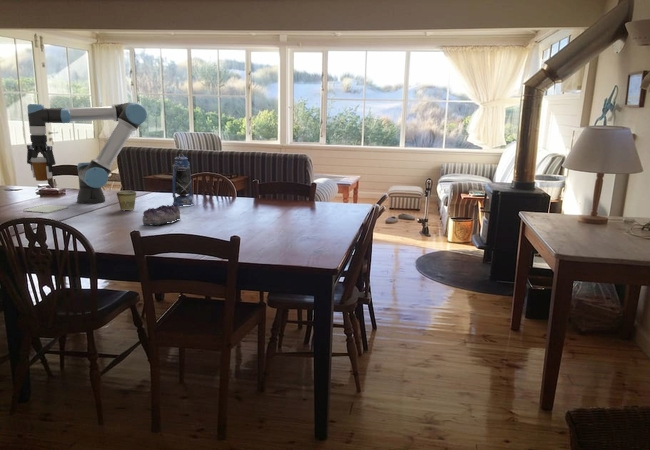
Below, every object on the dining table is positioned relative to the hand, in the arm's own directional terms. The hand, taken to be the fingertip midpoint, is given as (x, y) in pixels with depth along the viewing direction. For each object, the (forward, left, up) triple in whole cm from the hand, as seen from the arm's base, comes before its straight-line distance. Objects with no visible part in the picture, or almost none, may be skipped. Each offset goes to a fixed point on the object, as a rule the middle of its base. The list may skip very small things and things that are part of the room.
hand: (42, 177), depth 264 cm
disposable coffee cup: (0, 0, -1) cm, 1 cm away
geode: (-73, +8, -18) cm, 76 cm away
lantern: (-61, -37, -17) cm, 74 cm away
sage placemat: (0, 0, -17) cm, 17 cm away
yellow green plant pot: (-40, -15, -17) cm, 46 cm away
